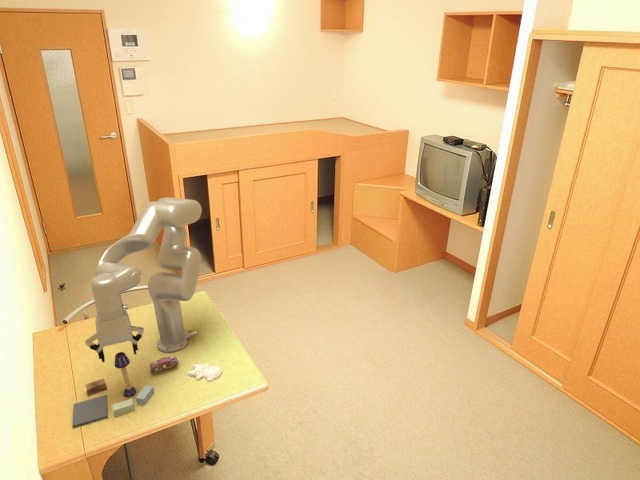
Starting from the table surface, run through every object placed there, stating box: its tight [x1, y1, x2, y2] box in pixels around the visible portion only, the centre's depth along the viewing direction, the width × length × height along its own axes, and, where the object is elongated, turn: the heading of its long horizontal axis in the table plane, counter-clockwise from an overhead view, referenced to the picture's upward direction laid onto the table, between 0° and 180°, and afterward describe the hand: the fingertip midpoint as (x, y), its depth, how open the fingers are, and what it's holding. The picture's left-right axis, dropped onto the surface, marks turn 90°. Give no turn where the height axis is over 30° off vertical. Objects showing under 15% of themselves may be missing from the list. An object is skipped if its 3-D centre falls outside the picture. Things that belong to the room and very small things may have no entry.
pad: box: [71, 394, 109, 429], centre depth 145 cm, size 10×10×1 cm
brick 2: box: [112, 398, 135, 418], centre depth 145 cm, size 6×3×3 cm, turn 118°
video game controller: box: [149, 355, 179, 372], centre depth 163 cm, size 10×5×7 cm, turn 118°
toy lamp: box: [114, 351, 137, 398], centre depth 150 cm, size 5×5×17 cm
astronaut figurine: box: [187, 362, 223, 383], centre depth 162 cm, size 9×12×3 cm
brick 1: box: [85, 378, 108, 397], centre depth 153 cm, size 6×3×3 cm, turn 125°
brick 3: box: [135, 385, 155, 406], centre depth 150 cm, size 6×3×3 cm, turn 169°
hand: (119, 355), depth 146 cm, fingers open, 9 cm apart
